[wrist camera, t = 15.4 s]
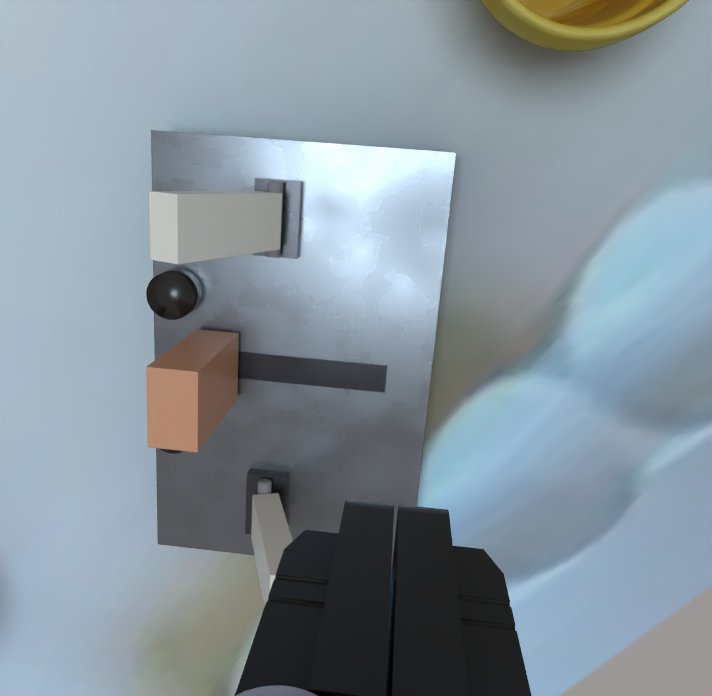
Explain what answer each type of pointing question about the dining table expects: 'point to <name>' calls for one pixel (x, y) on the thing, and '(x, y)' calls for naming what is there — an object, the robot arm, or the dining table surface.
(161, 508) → the panel
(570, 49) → the plant pot
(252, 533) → the lever
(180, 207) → the lever
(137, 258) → the dining table surface
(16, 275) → the dining table surface
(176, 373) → the slider knob
